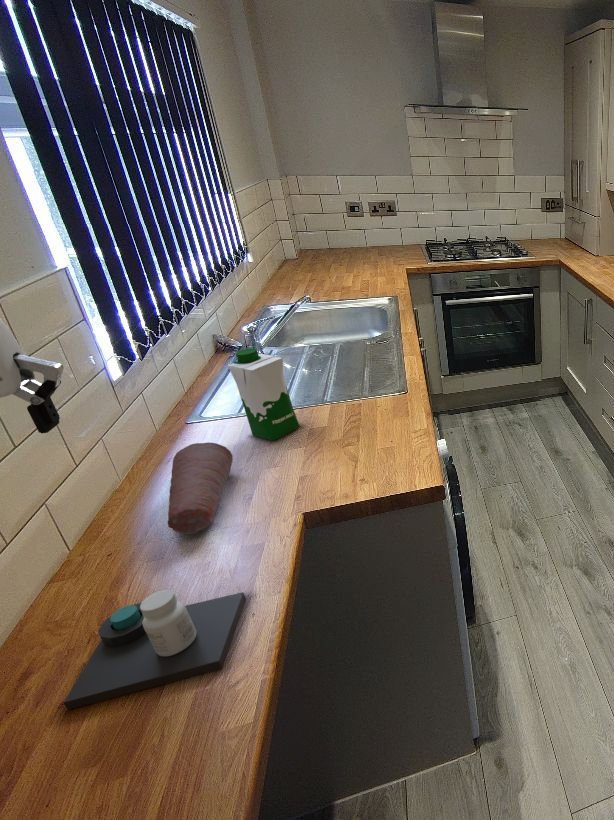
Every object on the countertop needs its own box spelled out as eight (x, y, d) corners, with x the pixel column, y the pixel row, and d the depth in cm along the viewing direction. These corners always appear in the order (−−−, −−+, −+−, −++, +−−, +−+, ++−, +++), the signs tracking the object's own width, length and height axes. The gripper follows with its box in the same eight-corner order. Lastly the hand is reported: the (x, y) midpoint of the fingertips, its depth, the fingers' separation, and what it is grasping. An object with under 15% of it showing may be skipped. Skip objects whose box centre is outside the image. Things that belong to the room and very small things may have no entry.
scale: (67, 710, 63) (57, 693, 62) (118, 625, 74) (109, 609, 73) (222, 668, 68) (215, 652, 66) (247, 594, 79) (241, 579, 77)
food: (182, 485, 104) (166, 447, 101) (237, 470, 109) (225, 433, 106) (171, 548, 88) (152, 505, 84) (237, 527, 92) (222, 485, 89)
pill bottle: (194, 623, 72) (175, 580, 69) (200, 642, 69) (180, 599, 66) (154, 642, 70) (132, 599, 66) (158, 664, 67) (136, 620, 64)
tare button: (110, 633, 70) (105, 624, 69) (119, 616, 72) (115, 608, 71) (135, 626, 70) (131, 618, 70) (144, 610, 73) (140, 602, 72)
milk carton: (279, 419, 129) (257, 343, 121) (306, 425, 126) (285, 348, 118) (246, 436, 122) (219, 357, 114) (273, 444, 119) (248, 362, 111)
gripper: (-205, 324, 54) (-113, 464, 61) (8, 306, 60) (70, 437, 66) (-140, 305, 61) (-64, 433, 68) (46, 290, 66) (100, 411, 73)
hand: (2, 435), depth 67 cm, fingers open, 9 cm apart
